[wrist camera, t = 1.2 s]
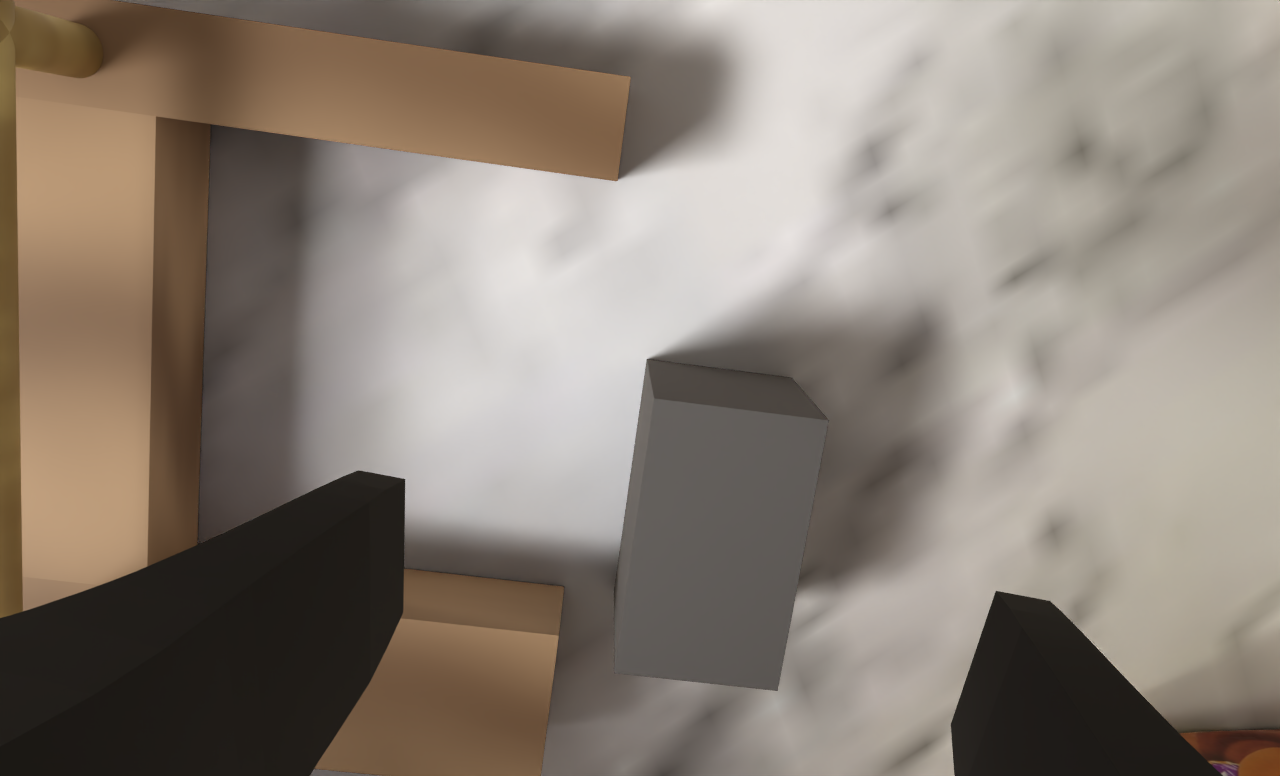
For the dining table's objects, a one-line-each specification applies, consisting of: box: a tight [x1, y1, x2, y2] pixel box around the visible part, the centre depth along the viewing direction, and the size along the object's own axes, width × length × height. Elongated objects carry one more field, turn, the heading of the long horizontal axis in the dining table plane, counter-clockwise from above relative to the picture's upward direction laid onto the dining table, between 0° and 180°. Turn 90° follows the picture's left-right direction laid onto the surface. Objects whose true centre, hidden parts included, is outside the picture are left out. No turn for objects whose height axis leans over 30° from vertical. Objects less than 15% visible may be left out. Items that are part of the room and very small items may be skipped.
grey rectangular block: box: [614, 359, 829, 691], centre depth 21 cm, size 6×4×4 cm, turn 172°
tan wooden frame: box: [0, 0, 631, 776], centre depth 19 cm, size 16×15×6 cm
